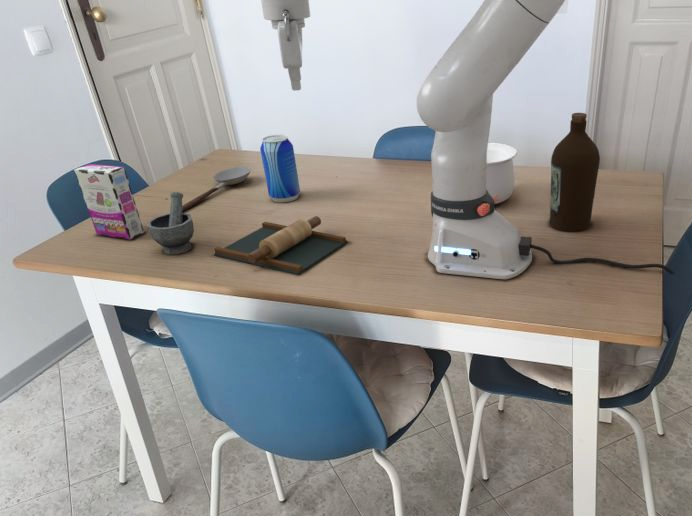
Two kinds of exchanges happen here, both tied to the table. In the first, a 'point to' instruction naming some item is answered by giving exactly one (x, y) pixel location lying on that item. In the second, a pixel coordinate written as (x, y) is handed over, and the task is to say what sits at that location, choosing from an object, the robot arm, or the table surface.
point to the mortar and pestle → (173, 227)
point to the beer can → (280, 168)
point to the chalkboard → (289, 260)
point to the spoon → (222, 183)
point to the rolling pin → (284, 239)
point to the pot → (500, 171)
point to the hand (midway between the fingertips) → (296, 85)
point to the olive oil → (573, 178)
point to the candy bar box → (109, 201)
